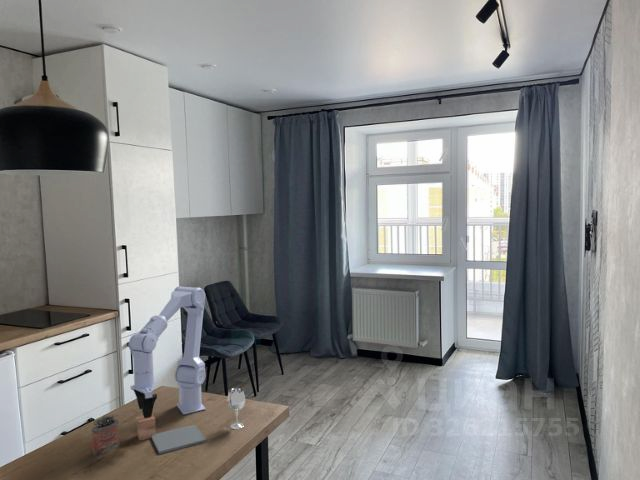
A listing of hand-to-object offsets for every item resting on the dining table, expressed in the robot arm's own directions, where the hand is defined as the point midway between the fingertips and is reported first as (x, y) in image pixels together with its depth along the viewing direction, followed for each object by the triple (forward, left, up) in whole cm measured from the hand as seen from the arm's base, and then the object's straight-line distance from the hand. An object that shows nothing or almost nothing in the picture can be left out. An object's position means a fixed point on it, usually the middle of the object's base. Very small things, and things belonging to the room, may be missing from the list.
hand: (145, 412), depth 153 cm
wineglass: (+9, +27, -8) cm, 30 cm away
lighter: (+2, -12, -8) cm, 14 cm away
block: (0, 0, -8) cm, 8 cm away
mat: (+8, +8, -8) cm, 14 cm away
